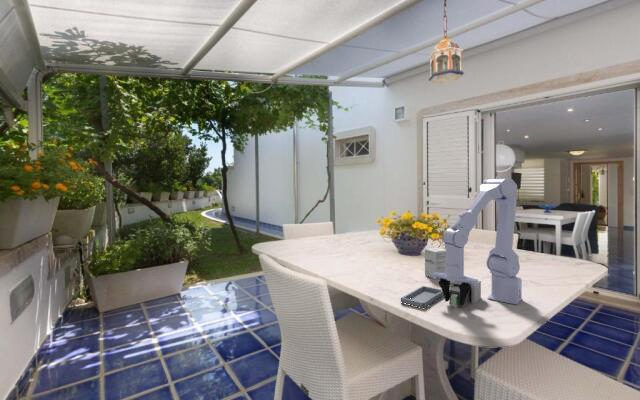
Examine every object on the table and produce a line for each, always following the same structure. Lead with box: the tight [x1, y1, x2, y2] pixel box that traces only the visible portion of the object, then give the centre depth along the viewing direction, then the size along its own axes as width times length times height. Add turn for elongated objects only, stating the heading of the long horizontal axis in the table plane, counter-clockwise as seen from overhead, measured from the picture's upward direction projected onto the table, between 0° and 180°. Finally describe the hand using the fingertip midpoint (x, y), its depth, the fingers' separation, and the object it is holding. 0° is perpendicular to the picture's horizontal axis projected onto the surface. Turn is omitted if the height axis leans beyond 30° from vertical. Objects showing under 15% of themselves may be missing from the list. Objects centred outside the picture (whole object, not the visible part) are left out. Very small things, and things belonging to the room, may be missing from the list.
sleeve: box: [450, 280, 482, 304], centre depth 123 cm, size 7×8×6 cm
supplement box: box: [424, 247, 446, 279], centre depth 150 cm, size 7×7×13 cm
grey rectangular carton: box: [449, 285, 472, 309], centre depth 118 cm, size 10×5×5 cm, turn 137°
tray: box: [400, 285, 444, 309], centre depth 123 cm, size 9×18×2 cm, turn 137°
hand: (454, 302), depth 115 cm, fingers closed on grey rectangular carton, 5 cm apart
